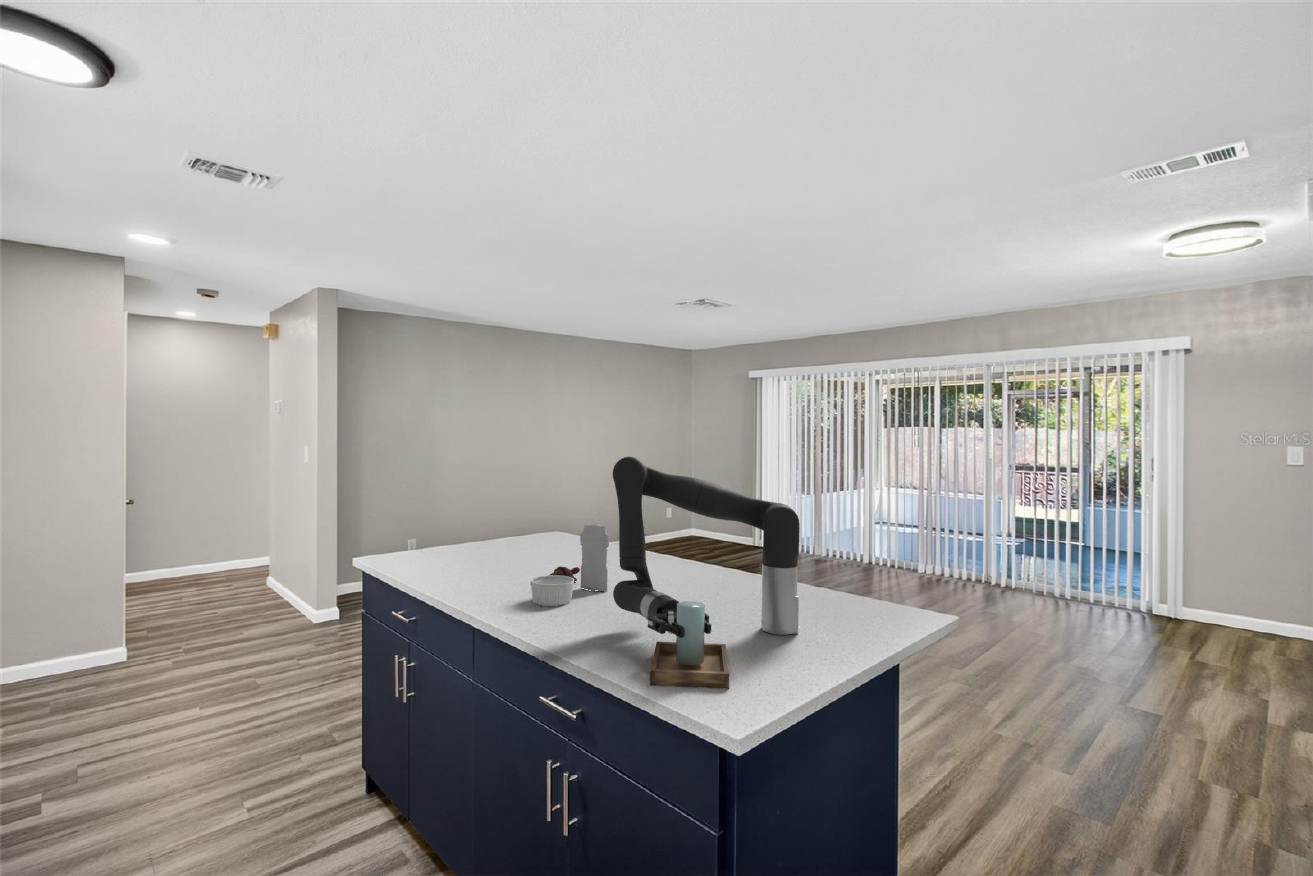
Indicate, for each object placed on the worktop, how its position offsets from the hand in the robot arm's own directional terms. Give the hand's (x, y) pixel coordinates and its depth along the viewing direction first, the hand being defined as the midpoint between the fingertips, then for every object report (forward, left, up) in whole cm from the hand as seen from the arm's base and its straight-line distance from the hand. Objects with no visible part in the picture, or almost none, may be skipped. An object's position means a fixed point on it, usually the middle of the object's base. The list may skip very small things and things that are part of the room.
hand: (696, 631), depth 129 cm
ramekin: (+44, -53, -10) cm, 70 cm away
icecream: (+46, -73, -9) cm, 87 cm away
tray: (+1, -2, -9) cm, 9 cm away
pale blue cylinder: (+1, -2, -7) cm, 7 cm away
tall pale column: (+34, -69, -9) cm, 78 cm away
